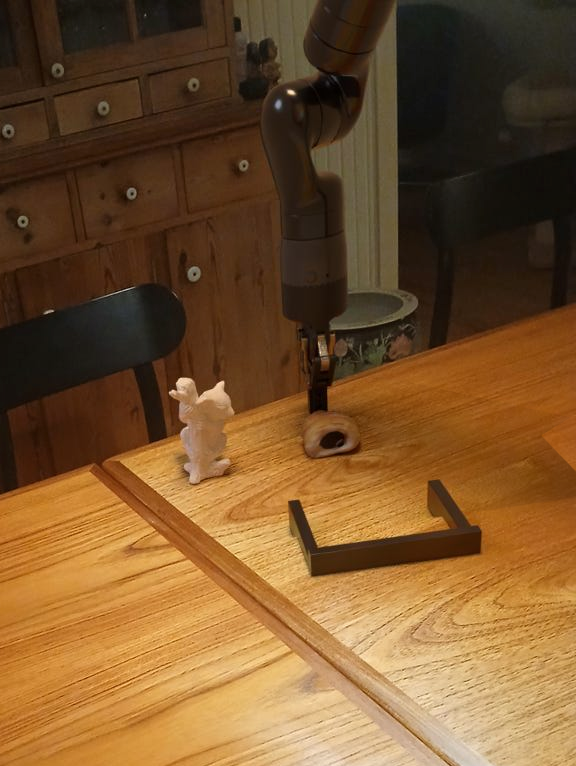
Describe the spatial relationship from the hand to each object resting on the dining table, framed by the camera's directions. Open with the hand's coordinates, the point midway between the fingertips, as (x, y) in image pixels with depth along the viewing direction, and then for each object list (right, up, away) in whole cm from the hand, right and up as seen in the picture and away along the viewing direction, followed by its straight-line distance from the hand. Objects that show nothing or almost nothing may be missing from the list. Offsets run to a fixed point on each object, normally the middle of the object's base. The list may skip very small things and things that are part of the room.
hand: (317, 413), depth 123 cm
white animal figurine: (-15, -9, -6) cm, 18 cm away
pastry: (0, -5, -5) cm, 7 cm away
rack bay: (0, -19, -26) cm, 32 cm away
